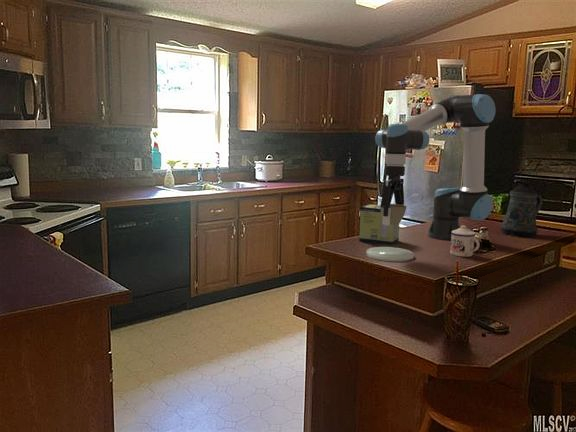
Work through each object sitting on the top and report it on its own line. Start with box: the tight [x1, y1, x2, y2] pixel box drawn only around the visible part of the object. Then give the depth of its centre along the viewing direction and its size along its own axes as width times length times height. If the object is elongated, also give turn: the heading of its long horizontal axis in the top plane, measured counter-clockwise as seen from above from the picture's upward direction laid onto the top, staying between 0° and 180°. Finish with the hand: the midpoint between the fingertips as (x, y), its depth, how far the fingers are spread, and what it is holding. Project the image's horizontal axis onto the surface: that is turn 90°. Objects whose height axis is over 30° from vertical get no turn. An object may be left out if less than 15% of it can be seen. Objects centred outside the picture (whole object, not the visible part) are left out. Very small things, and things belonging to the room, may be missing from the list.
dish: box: [366, 246, 415, 263], centre depth 196 cm, size 18×18×2 cm
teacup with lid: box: [449, 225, 480, 258], centre depth 200 cm, size 12×9×12 cm
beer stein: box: [500, 182, 543, 238], centre depth 247 cm, size 16×19×25 cm
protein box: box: [358, 204, 400, 246], centre depth 222 cm, size 10×16×16 cm
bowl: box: [379, 203, 408, 225], centre depth 194 cm, size 10×10×7 cm
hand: (391, 222), depth 194 cm, fingers closed on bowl, 10 cm apart
